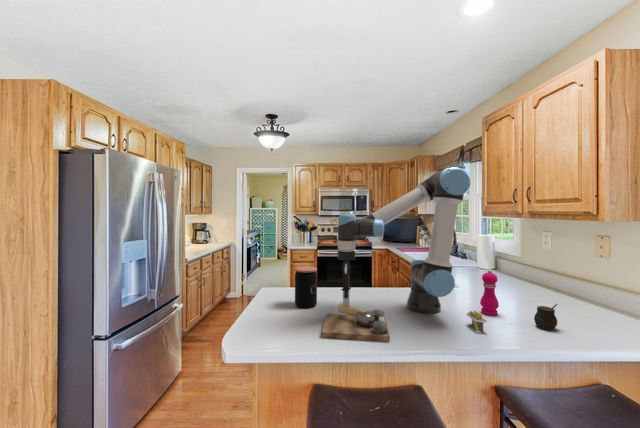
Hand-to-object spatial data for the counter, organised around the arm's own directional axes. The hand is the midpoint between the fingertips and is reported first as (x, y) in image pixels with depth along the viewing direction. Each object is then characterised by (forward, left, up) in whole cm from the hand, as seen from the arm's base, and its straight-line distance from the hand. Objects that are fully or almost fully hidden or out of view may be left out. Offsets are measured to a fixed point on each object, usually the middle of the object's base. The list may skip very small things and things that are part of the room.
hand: (346, 305), depth 123 cm
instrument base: (-4, +11, -6) cm, 13 cm away
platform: (-51, +4, -6) cm, 52 cm away
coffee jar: (+20, -14, -6) cm, 25 cm away
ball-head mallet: (-4, +9, -3) cm, 10 cm away
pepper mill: (-64, -15, -6) cm, 66 cm away
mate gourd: (-79, -1, -6) cm, 79 cm away
